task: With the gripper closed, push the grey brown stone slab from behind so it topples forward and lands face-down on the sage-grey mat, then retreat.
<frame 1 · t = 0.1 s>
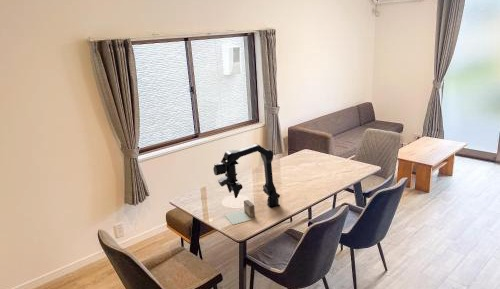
hand: (233, 195, 225), 14 cm above the table, fingers open, 9 cm apart
grey brown stone slab: (249, 214, 231), on the table
mat: (237, 217, 227), on the table
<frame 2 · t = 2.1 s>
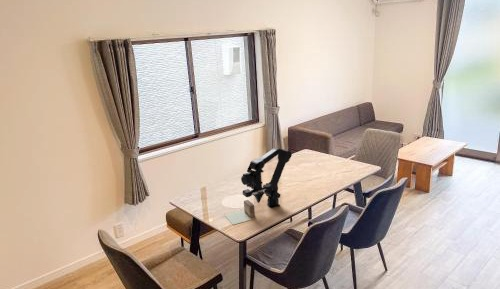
hand: (258, 202, 231), 6 cm above the table, fingers closed
nothing on the table moved.
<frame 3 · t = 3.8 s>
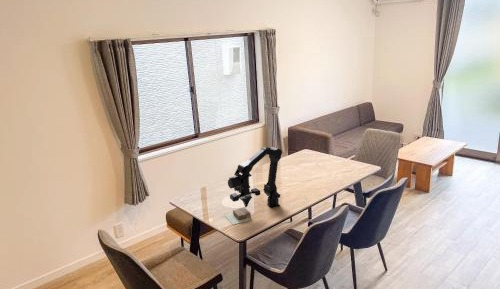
hand: (246, 207, 228), 6 cm above the table, fingers closed
grey brown stone slab: (247, 212, 229), point 2 cm above the table, tilted 90°, touching mat
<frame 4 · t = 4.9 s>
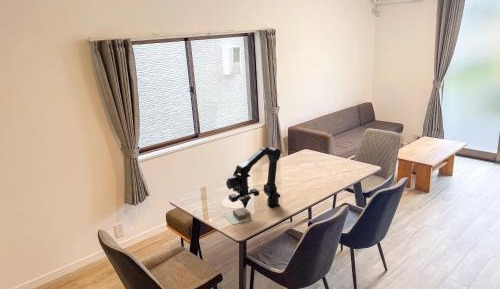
hand: (244, 207, 228), 5 cm above the table, fingers closed
nothing on the table moved.
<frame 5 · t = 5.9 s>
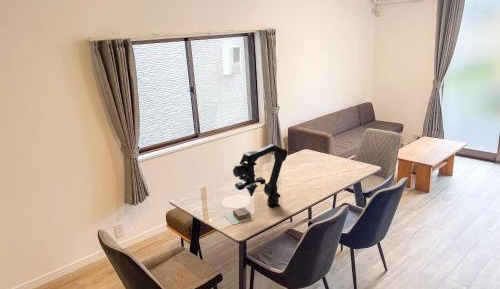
hand: (251, 195, 228), 12 cm above the table, fingers closed
nothing on the table moved.
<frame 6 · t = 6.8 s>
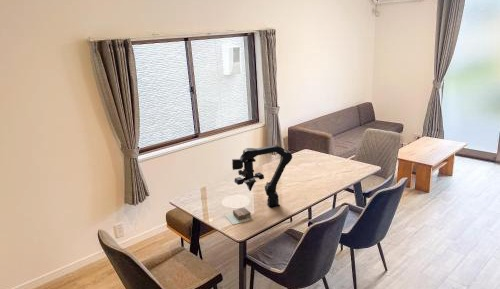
hand: (250, 190, 236), 12 cm above the table, fingers closed
nothing on the table moved.
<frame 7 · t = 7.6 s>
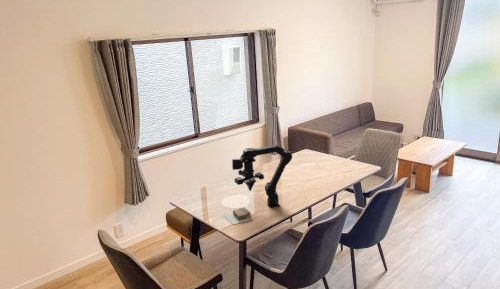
hand: (250, 190, 236), 12 cm above the table, fingers closed
nothing on the table moved.
at the end: grey brown stone slab tilted 90°; grey brown stone slab inside the target area (5.6 cm from its centre), point 1.9 cm above the table; the gripper is holding nothing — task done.
